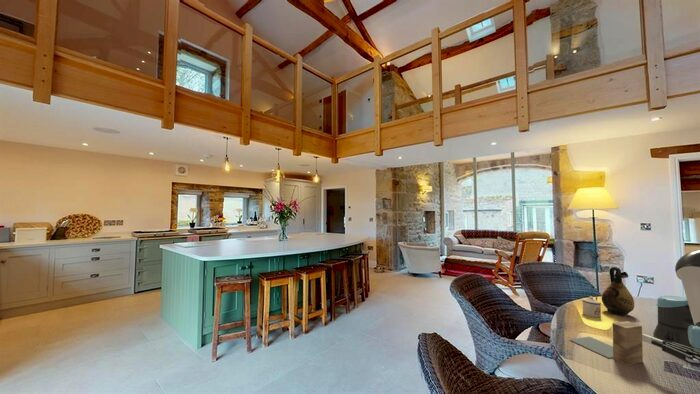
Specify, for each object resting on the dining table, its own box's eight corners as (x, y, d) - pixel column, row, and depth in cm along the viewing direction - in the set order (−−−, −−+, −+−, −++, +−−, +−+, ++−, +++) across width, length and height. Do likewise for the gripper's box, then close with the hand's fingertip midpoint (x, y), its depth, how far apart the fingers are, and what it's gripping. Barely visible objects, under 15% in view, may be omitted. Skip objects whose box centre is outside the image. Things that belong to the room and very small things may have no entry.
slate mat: (630, 354, 124) (630, 353, 124) (608, 358, 121) (608, 357, 121) (589, 337, 141) (589, 336, 141) (569, 340, 137) (569, 339, 137)
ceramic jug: (642, 319, 166) (640, 271, 167) (613, 316, 169) (612, 269, 170) (620, 309, 183) (619, 265, 184) (594, 307, 186) (593, 264, 187)
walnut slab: (642, 362, 118) (641, 325, 119) (627, 365, 116) (626, 328, 117) (628, 356, 123) (627, 321, 124) (613, 358, 121) (612, 323, 121)
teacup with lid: (598, 318, 166) (597, 300, 166) (579, 313, 173) (579, 295, 174) (605, 315, 172) (604, 297, 172) (587, 310, 179) (586, 293, 180)
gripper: (722, 384, 90) (633, 348, 113) (745, 378, 93) (653, 344, 116) (721, 361, 90) (632, 330, 113) (744, 356, 94) (653, 327, 116)
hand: (643, 337), depth 114 cm, fingers closed
